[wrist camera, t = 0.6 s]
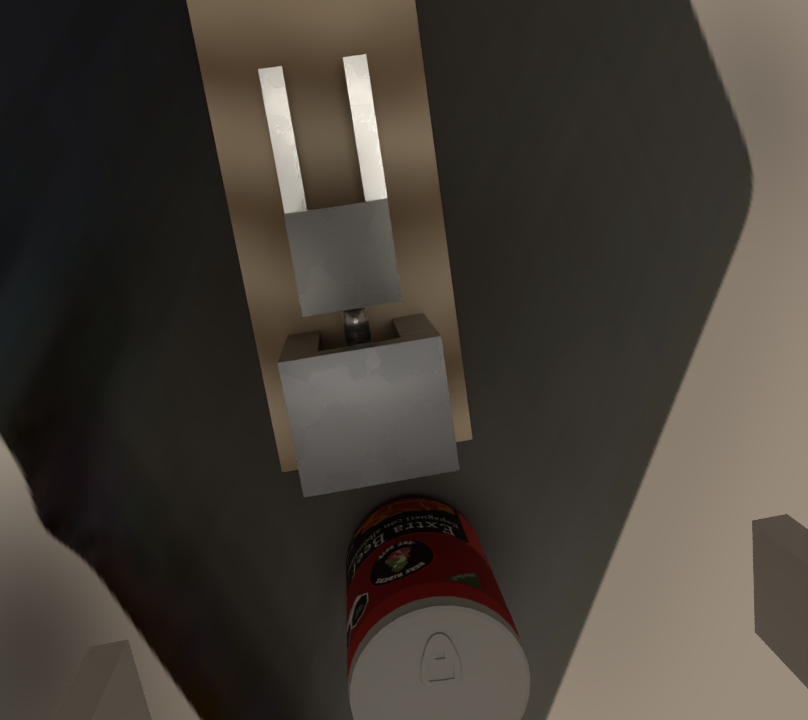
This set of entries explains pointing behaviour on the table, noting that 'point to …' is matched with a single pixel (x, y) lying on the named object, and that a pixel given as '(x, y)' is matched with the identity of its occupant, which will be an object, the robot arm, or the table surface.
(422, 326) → the block
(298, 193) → the two-pronged fork block
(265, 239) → the rail board
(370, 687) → the canned food
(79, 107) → the table surface
